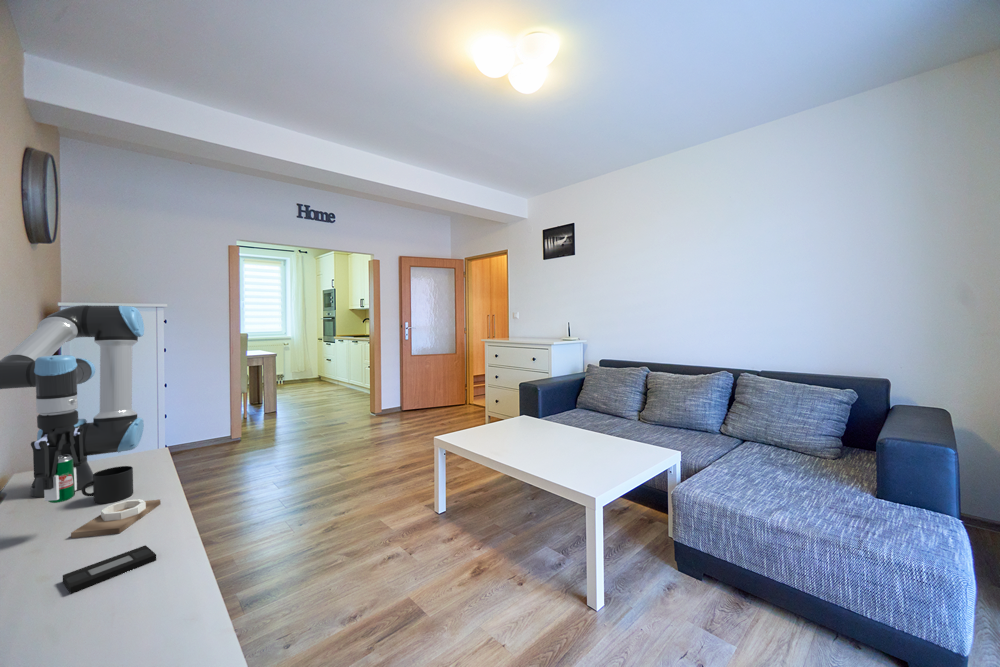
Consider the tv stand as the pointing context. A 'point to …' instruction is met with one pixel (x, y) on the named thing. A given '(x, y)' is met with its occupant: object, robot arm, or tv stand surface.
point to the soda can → (65, 478)
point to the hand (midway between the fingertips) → (61, 495)
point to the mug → (111, 485)
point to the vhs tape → (107, 569)
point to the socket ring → (110, 512)
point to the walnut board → (112, 523)
